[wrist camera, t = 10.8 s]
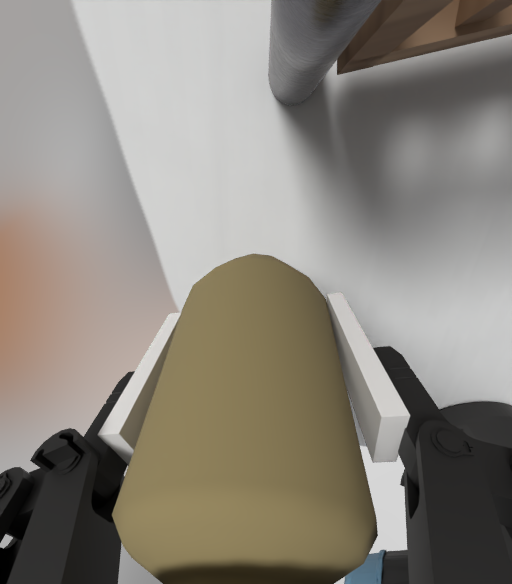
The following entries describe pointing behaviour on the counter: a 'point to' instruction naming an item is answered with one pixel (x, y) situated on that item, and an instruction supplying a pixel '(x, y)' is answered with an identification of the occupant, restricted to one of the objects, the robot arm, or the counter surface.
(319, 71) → the gate post
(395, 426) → the robot arm
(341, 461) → the squeeze bottle
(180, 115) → the counter surface
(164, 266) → the counter surface
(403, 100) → the counter surface
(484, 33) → the gate
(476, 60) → the counter surface
